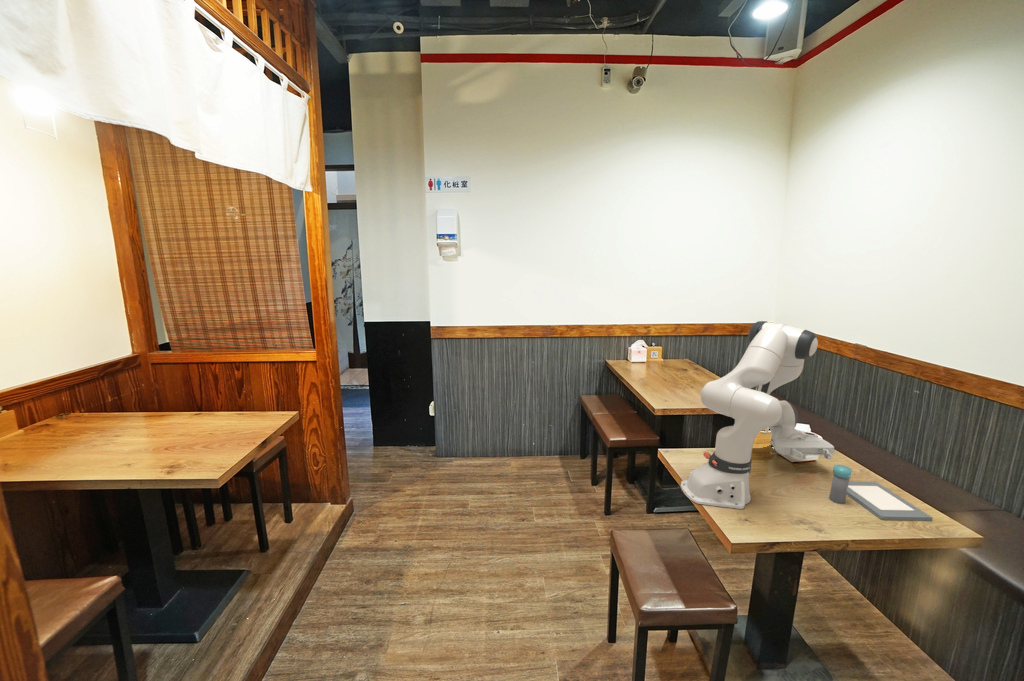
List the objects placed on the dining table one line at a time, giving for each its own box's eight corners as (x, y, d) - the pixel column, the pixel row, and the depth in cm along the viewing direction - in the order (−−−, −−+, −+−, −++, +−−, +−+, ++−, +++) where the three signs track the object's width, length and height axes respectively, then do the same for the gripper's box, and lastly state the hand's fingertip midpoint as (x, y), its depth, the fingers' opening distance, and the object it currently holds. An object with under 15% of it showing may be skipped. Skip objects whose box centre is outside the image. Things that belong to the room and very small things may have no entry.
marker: (835, 504, 146) (841, 471, 143) (825, 496, 150) (830, 464, 148) (849, 504, 146) (855, 471, 143) (839, 496, 150) (844, 464, 148)
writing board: (881, 519, 137) (882, 515, 137) (831, 483, 159) (832, 480, 159) (931, 520, 137) (932, 516, 137) (875, 484, 159) (876, 481, 158)
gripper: (768, 433, 172) (789, 449, 158) (819, 433, 171) (845, 449, 158) (766, 448, 173) (787, 464, 159) (817, 448, 173) (843, 465, 159)
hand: (816, 457), depth 159 cm, fingers open, 8 cm apart
